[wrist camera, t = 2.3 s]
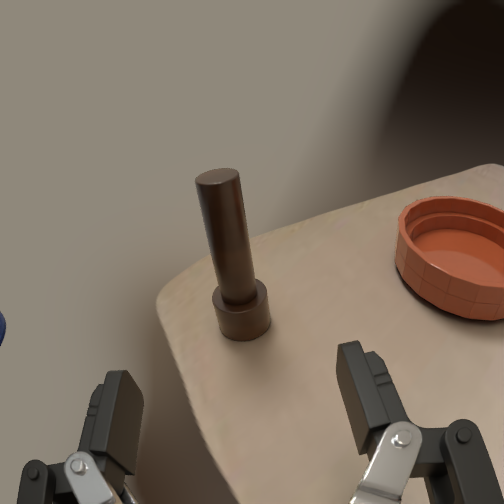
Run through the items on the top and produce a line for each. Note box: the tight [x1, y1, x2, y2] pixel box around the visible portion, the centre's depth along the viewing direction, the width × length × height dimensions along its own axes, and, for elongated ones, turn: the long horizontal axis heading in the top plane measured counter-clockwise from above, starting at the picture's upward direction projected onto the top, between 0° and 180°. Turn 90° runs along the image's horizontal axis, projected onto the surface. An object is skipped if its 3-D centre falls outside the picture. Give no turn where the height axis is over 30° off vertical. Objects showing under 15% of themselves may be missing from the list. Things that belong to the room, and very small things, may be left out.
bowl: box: [395, 196, 504, 320], centre depth 25 cm, size 15×15×4 cm
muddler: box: [195, 168, 270, 341], centre depth 22 cm, size 4×4×12 cm
